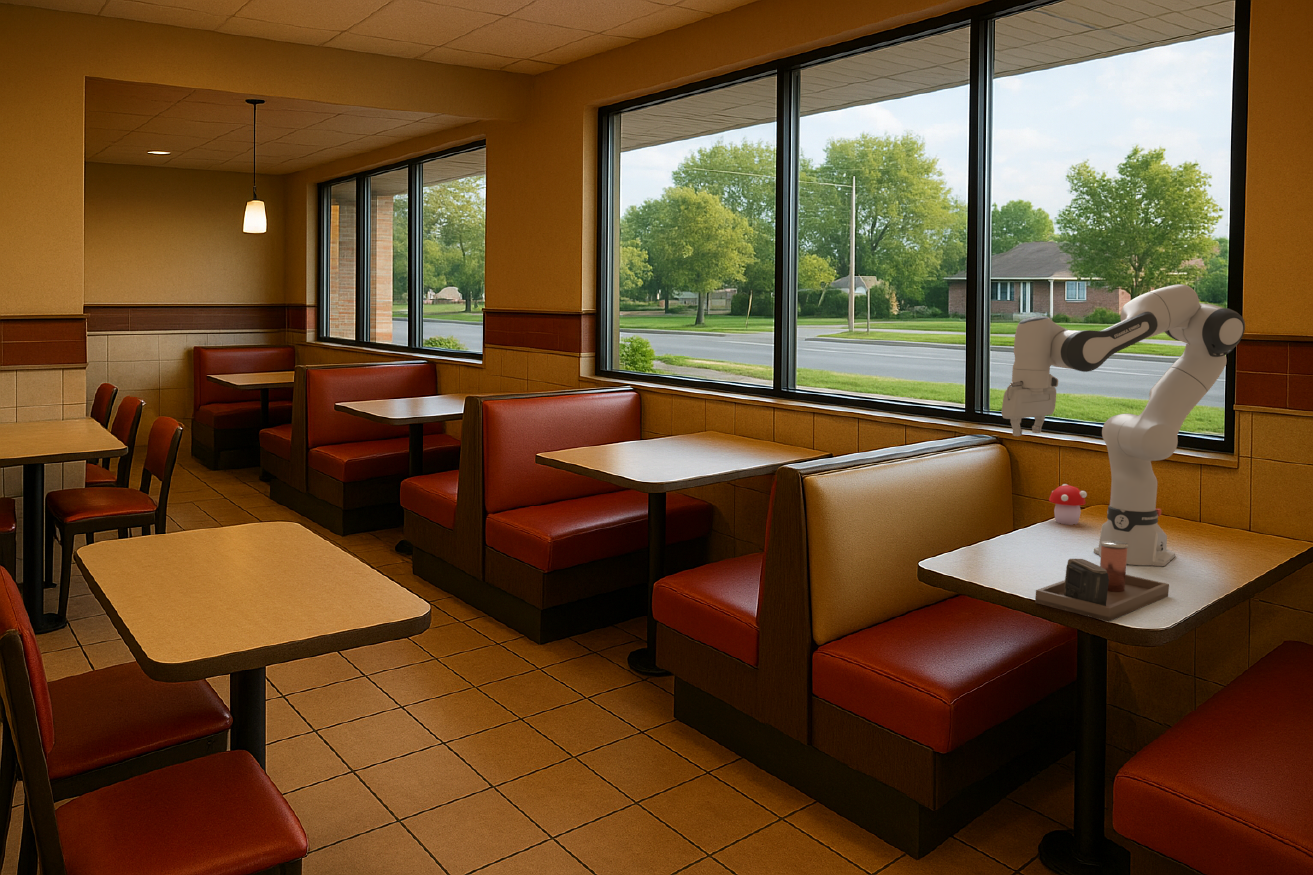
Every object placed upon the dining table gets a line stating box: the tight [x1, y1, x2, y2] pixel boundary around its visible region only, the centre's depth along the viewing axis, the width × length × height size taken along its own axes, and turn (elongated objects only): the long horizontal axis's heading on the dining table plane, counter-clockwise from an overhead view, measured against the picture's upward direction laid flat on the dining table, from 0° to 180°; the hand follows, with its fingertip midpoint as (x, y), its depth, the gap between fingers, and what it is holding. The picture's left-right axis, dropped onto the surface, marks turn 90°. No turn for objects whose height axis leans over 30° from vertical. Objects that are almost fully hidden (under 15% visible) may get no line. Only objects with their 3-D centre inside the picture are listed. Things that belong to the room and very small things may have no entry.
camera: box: [1064, 558, 1109, 606], centre depth 220 cm, size 11×6×10 cm, turn 6°
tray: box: [1034, 574, 1170, 623], centre depth 226 cm, size 30×17×3 cm, turn 130°
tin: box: [1099, 540, 1128, 592], centre depth 231 cm, size 6×6×11 cm
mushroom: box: [1048, 483, 1088, 526], centre depth 306 cm, size 11×11×12 cm
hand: (1026, 434), depth 248 cm, fingers open, 8 cm apart
